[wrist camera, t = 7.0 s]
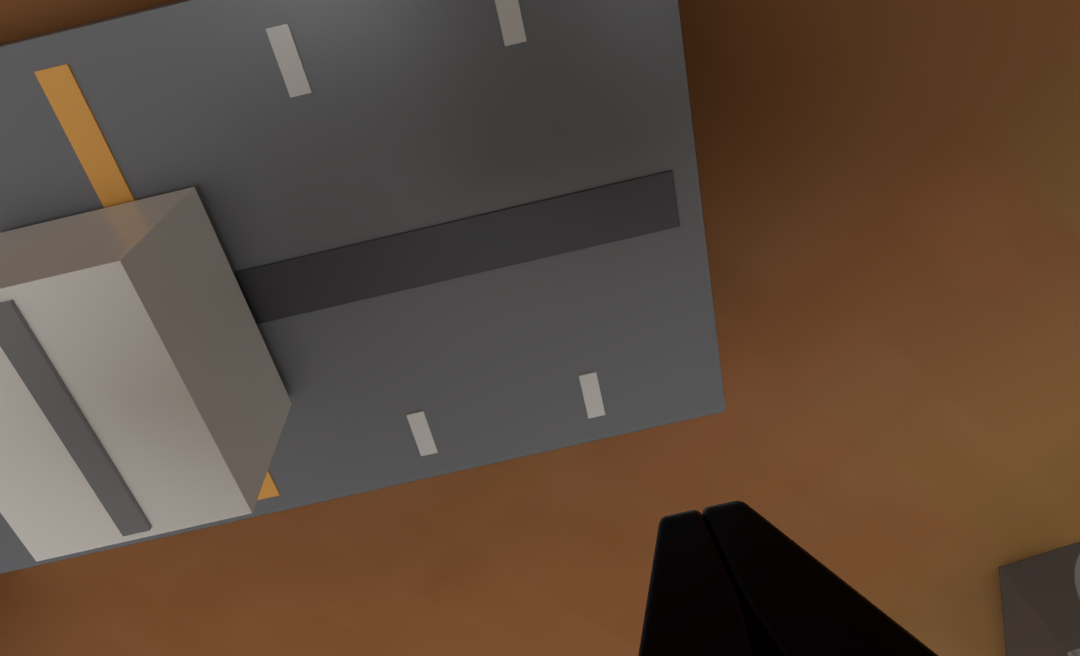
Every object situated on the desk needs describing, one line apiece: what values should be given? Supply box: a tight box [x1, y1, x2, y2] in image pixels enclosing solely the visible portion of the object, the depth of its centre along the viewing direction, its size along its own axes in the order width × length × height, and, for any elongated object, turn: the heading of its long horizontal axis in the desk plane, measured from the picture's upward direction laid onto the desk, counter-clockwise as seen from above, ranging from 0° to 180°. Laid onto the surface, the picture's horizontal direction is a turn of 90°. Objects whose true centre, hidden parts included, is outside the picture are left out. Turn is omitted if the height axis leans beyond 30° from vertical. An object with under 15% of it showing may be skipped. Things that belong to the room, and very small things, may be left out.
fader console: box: [0, 0, 726, 574], centre depth 17 cm, size 18×11×3 cm, turn 102°
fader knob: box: [0, 187, 292, 562], centre depth 14 cm, size 4×5×4 cm
